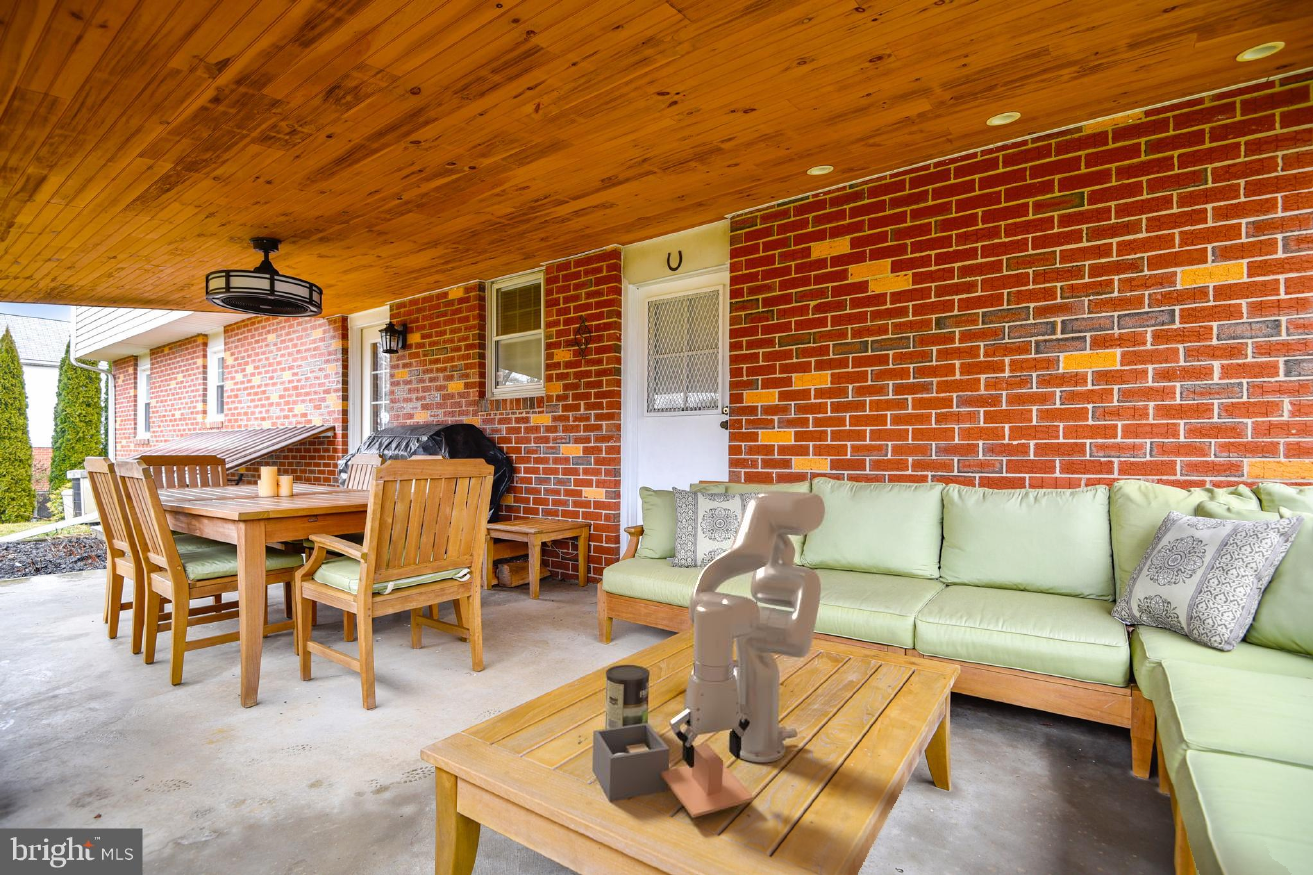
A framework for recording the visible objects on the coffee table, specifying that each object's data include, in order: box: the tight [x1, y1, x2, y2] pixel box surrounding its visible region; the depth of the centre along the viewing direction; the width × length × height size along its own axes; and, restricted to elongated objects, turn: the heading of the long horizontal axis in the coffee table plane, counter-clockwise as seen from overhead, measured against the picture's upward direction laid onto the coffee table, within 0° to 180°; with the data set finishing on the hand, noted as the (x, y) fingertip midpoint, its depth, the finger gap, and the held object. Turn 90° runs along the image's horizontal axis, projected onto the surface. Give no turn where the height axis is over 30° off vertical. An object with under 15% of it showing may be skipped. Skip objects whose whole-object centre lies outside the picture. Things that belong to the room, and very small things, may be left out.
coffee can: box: [604, 664, 650, 729], centre depth 142 cm, size 10×10×14 cm
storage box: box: [591, 722, 670, 802], centre depth 121 cm, size 12×12×8 cm
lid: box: [661, 742, 755, 818], centre depth 114 cm, size 13×13×7 cm
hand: (712, 759), depth 115 cm, fingers open, 9 cm apart
